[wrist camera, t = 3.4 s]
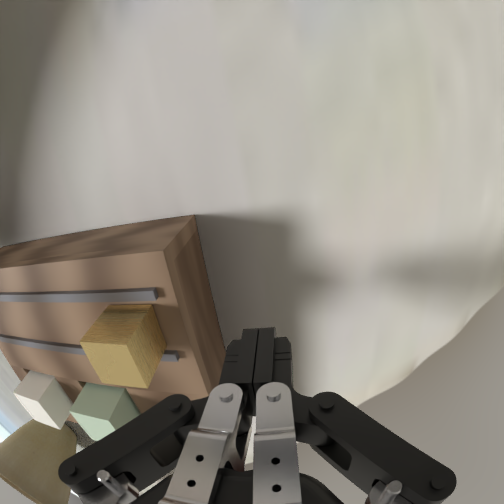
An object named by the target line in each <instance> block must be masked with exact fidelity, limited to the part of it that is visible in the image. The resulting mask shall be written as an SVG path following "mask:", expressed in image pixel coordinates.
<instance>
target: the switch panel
mask: <svg viewBox="0 0 504 504" xmlns="http://www.w3.org/2000/svg"><path fill="white" fill-rule="evenodd" d="M147 304H152V306H153V309H154V312H155V315H156V317H157V320H158V323H159V326H160V329H161V331H162V334H163V337H164V339H165V342H166V345H167V347H166V350H165V352H164V354H163V356H162V358H161V360H160V363H159V365H158V367H157V369H156V371H155V373H154V376H153V378H152V380H151V382H150V384H149V387H148V389H147V388H137V387H129V386H121V385H113V384H106V383H102V382H101V380H100V378H99V377H98V375H97V373H96V372H95V370H94V368H93V366H92V365H91V363H90V361H89V359H88V357H87V355H86V354H85V352H84V350H83V348H82V346H81V344H80V342H79V341H80V340H81V339H82V337H83V336H84V335H85V334H86V332H87V331H88V330H89V329H90V327H91V326H92V325H93V324H94V322H95V321H96V320H97V319H98V317H99V316H100V315H101V314H102V312H103V311H104V310H105V309H106V308H107V306H108V305H147ZM0 349H1V351H2V352H3V354H4V356H5V357H6V359H7V361H8V362H9V364H10V365H11V367H12V368H13V370H14V372H15V373H16V375H17V376H18V378H19V379H20V380H21V381H22V380H23V379H24V377H25V376H26V375H27V374H28V372H29V371H30V370H32V371H36V372H40V373H44V374H48V375H53V376H55V378H56V379H57V381H58V382H59V384H60V385H61V387H62V388H63V390H64V391H65V393H66V394H67V396H68V397H69V398H70V400H71V401H72V403H73V404H74V402H75V400H76V399H77V397H78V395H79V394H80V392H81V391H82V389H83V387H84V386H85V384H86V383H87V382H88V383H94V384H100V385H107V386H114V387H121V388H126V389H127V391H128V393H129V394H130V396H131V398H132V399H133V401H134V403H135V404H136V406H137V408H138V409H139V411H140V412H141V414H142V413H144V412H145V411H147V410H148V409H150V408H151V407H153V406H154V405H156V404H157V403H159V402H160V401H162V400H163V399H165V398H166V397H168V396H170V395H173V394H183V395H185V396H187V397H188V398H189V399H190V400H191V401H192V400H196V399H201V398H205V397H207V396H209V395H210V393H211V391H212V390H213V389H214V388H215V387H216V386H218V385H219V380H220V376H221V372H222V368H223V363H224V359H225V356H226V351H225V347H224V343H223V339H222V335H221V331H220V327H219V323H218V319H217V315H216V311H215V306H214V302H213V298H212V294H211V289H210V285H209V281H208V276H207V272H206V267H205V263H204V258H203V253H202V249H201V244H200V239H199V234H198V230H197V225H196V220H195V215H189V216H181V217H174V218H166V219H159V220H152V221H146V222H139V223H132V224H126V225H119V226H113V227H107V228H101V229H95V230H89V231H83V232H77V233H72V234H66V235H61V236H55V237H50V238H45V239H39V240H34V241H29V242H24V243H19V244H14V245H9V246H5V247H2V248H0ZM67 420H68V421H71V422H75V423H78V422H77V421H76V419H75V418H74V417H73V416H72V414H71V413H70V415H69V416H68V418H67ZM78 424H79V423H78Z"/></svg>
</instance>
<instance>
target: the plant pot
mask: <svg viewBox="0 0 504 504" xmlns="http://www.w3.org/2000/svg"><path fill="white" fill-rule="evenodd" d="M76 445H77V436H76V434H75V433H74V432H73V431H72V430H71V429H70V428H69V427H68V426H67V425H66V424H65V423H64V425H63V427H62V428H61V430H60V429H57V428H54V427H51V426H49V425H46V424H43V423H41V422H38V421H36V420H34V419H32V420H31V421H29V422H28V423H26V424H25V425H23V426H22V427H20V428H19V429H18V430H16V431H15V432H14V433H13V434H11V435H10V436H9V437H8V438H7V439H5V440H4V441H3V442H2V443H1V444H0V478H2V479H3V480H4V481H5V482H7V483H8V484H9V485H10V486H12V487H13V488H14V489H16V490H17V491H19V492H20V493H21V494H23V495H24V496H26V497H27V498H29V499H30V500H32V501H33V502H35V503H36V504H68V500H69V495H70V491H71V488H70V487H68V486H67V485H66V484H65V483H63V482H62V481H61V480H60V478H59V475H58V469H59V466H60V464H61V463H62V462H63V461H64V460H66V459H67V458H69V457H71V456H73V455H75V454H76Z"/></svg>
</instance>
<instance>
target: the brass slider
mask: <svg viewBox="0 0 504 504" xmlns="http://www.w3.org/2000/svg"><path fill="white" fill-rule="evenodd" d="M79 342H80V344H81V346H82V348H83V350H84V352H85V354H86V355H87V357H88V359H89V361H90V363H91V365H92V366H93V368H94V370H95V372H96V373H97V375H98V377H99V378H100V380H101V382H102V383H106V384H113V385H121V386H129V387H137V388H147V389H148V387H149V384H150V382H151V380H152V378H153V376H154V373H155V371H156V369H157V367H158V365H159V363H160V360H161V358H162V356H163V354H164V352H165V350H166V347H167V345H166V342H165V339H164V337H163V334H162V331H161V329H160V326H159V323H158V320H157V317H156V315H155V312H154V309H153V306H152V304H147V305H108V306H107V308H106V309H105V310H104V311H103V312H102V314H101V315H100V316H99V317H98V319H97V320H96V321H95V322H94V324H93V325H92V326H91V327H90V329H89V330H88V331H87V332H86V334H85V335H84V336H83V337H82V339H81V340H80V341H79Z"/></svg>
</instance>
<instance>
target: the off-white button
mask: <svg viewBox="0 0 504 504" xmlns="http://www.w3.org/2000/svg"><path fill="white" fill-rule="evenodd" d="M13 393H14V395H15V396H16V397H17V399H18V400H19V401H20V402H21V404H22V405H23V406H24V408H25V409H26V410H27V411H28V413H29V414H30V415H31V416H32V417H33V419H34V420H36V421H38V422H41V423H43V424H46V425H49V426H51V427H54V428H57V429H60V430H61V428H62V427H63V425H64V423H65V421H66V420H67V418H68V416H69V415H70V412H69V410H70V409H71V407H72V405H73V403H72V401H71V400H70V398H69V397H68V396H67V394H66V393H65V391H64V390H63V388H62V387H61V385H60V384H59V382H58V381H57V379H56V378H55V376H53V375H48V374H44V373H40V372H36V371H32V370H30V371H29V372H28V374H27V375H26V376H25V377H24V379H23V380H22V381H21V383H20V384H19V385H18V387H17V388H16V389H15V391H14V392H13Z"/></svg>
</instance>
